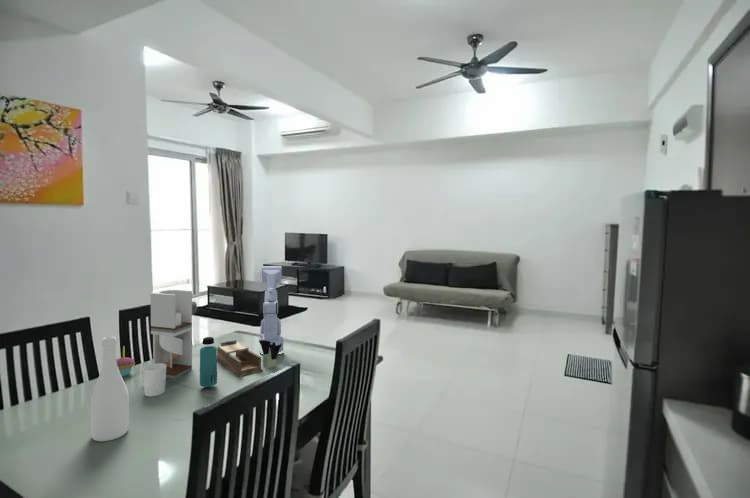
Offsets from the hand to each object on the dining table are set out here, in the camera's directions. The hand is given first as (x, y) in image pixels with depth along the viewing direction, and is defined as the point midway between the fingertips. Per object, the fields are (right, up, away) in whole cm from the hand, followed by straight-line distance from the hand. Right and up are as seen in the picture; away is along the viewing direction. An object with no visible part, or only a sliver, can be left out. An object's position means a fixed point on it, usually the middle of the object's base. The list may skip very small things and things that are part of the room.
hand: (269, 357), depth 179 cm
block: (0, -4, 0) cm, 4 cm away
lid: (-18, +3, +3) cm, 18 cm away
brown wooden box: (-14, -4, -1) cm, 15 cm away
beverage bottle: (-18, -5, -25) cm, 31 cm away
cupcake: (-58, -4, -15) cm, 60 cm away
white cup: (-35, -5, -31) cm, 47 cm away
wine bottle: (-33, -7, -60) cm, 68 cm away
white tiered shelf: (-39, -4, -11) cm, 41 cm away
